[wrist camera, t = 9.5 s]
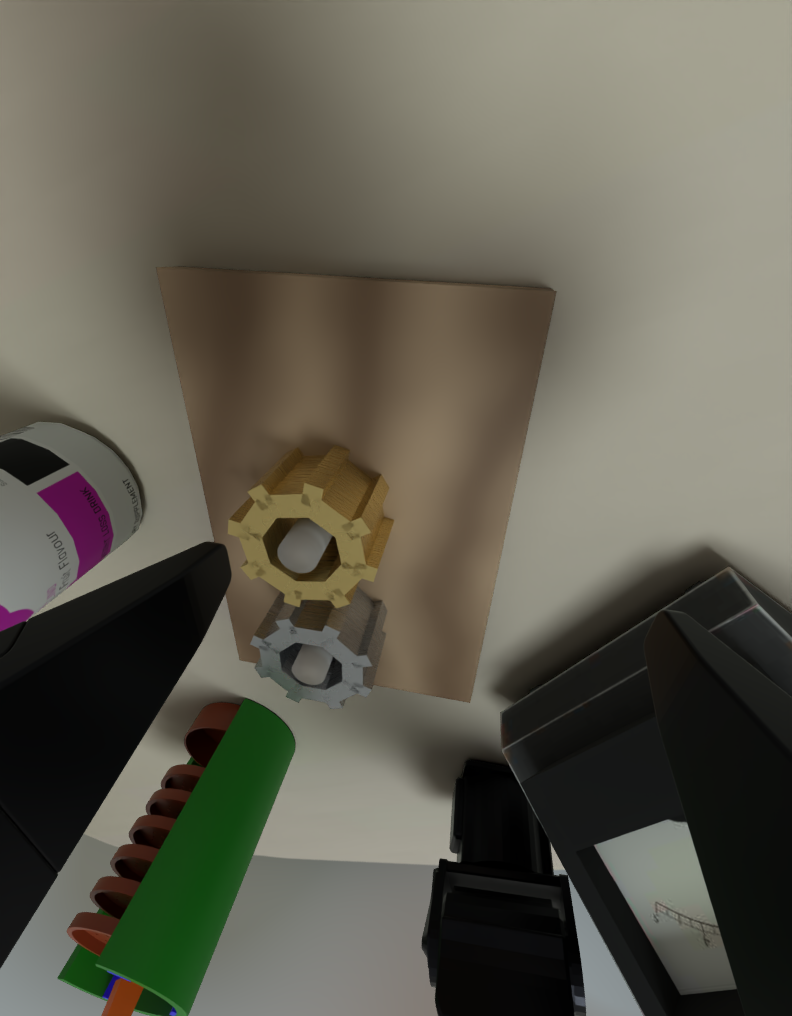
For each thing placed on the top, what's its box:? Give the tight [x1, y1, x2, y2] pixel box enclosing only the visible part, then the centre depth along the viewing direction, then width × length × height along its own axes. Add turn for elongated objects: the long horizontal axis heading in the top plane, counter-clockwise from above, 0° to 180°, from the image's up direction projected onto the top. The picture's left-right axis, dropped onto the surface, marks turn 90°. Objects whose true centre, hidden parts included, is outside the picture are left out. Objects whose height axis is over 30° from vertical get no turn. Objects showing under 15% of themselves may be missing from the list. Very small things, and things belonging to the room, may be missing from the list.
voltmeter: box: [500, 567, 792, 1016], centre depth 18 cm, size 16×16×20 cm
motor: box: [58, 698, 295, 1016], centre depth 30 cm, size 10×9×20 cm
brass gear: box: [228, 445, 394, 608], centre depth 21 cm, size 7×7×4 cm
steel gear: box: [250, 581, 387, 709], centre depth 24 cm, size 7×7×4 cm
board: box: [156, 267, 556, 703], centre depth 22 cm, size 16×24×6 cm, turn 178°
